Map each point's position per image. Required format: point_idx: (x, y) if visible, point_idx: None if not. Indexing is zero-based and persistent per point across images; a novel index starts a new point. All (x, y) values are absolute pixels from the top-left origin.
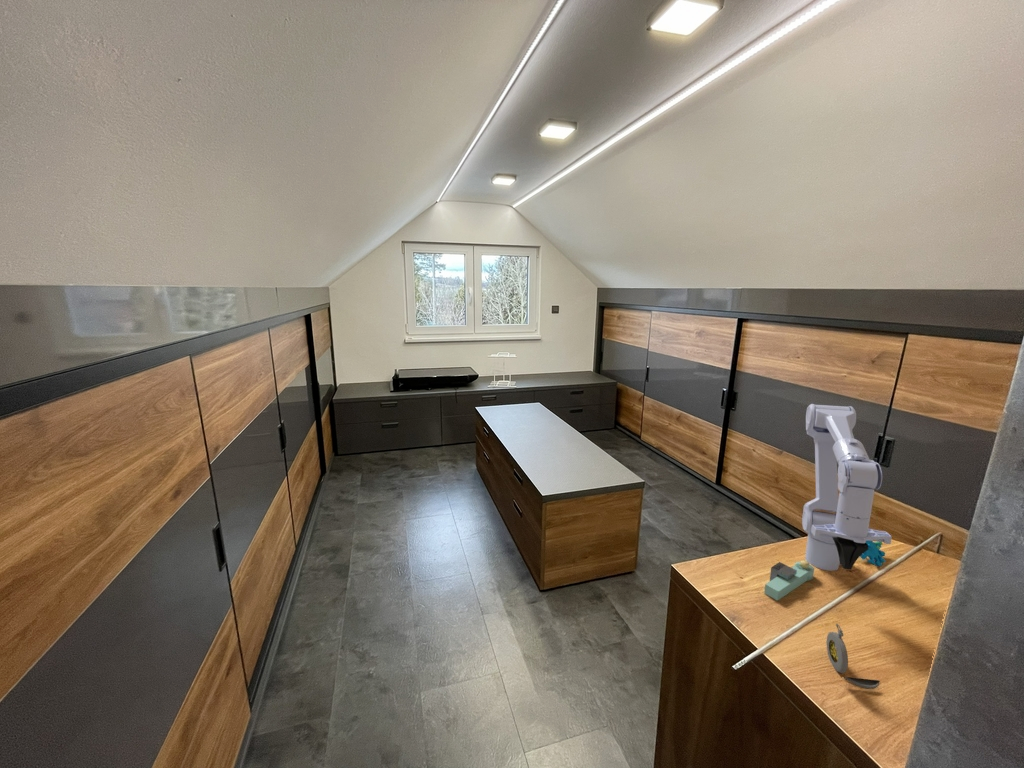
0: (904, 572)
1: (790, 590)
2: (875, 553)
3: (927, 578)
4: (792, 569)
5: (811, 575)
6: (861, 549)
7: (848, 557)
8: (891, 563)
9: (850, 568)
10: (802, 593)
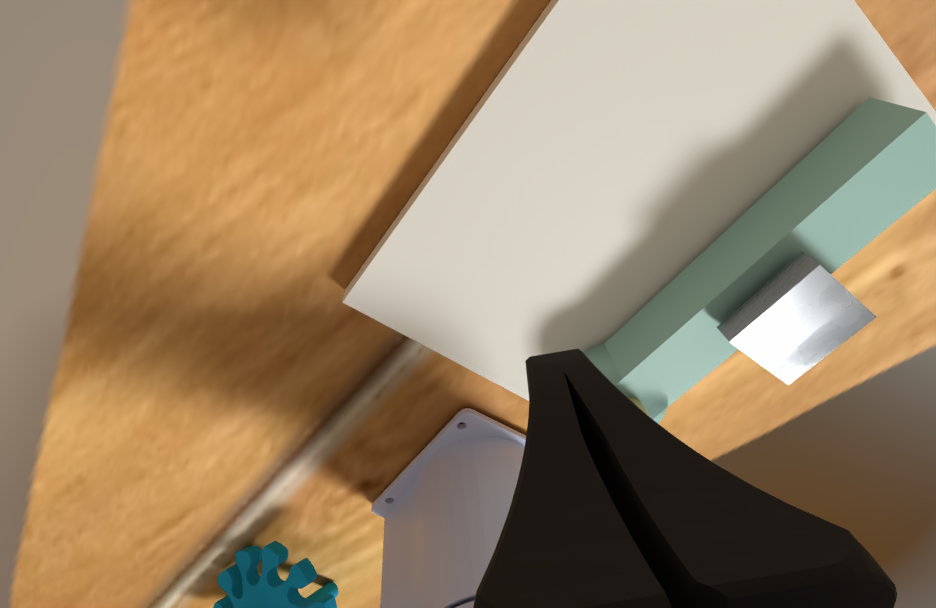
0: (158, 544)
1: (748, 218)
2: (249, 604)
3: (77, 540)
4: (751, 342)
5: None
6: (569, 577)
7: (624, 435)
8: (197, 575)
9: (539, 361)
10: None
